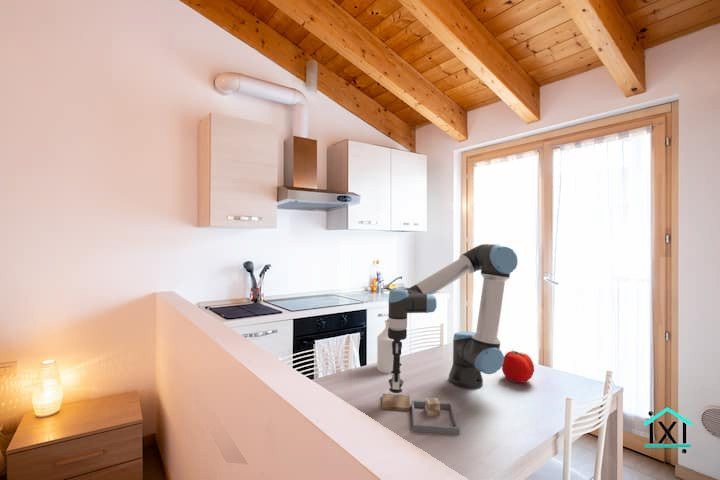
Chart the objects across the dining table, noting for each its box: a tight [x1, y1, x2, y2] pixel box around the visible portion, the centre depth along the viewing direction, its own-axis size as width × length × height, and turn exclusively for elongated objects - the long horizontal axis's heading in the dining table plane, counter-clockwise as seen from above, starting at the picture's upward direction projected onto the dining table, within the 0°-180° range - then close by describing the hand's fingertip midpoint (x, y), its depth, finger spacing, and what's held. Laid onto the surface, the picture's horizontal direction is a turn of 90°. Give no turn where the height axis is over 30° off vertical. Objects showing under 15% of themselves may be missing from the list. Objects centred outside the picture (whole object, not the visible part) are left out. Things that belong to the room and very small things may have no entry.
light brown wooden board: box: [381, 393, 411, 412], centre depth 142 cm, size 11×11×1 cm
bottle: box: [376, 318, 402, 374], centre depth 179 cm, size 12×12×25 cm
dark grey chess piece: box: [388, 371, 404, 394], centre depth 142 cm, size 6×6×12 cm
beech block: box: [424, 397, 441, 416], centre depth 136 cm, size 4×4×4 cm
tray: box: [411, 400, 461, 435], centre depth 131 cm, size 16×19×2 cm
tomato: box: [501, 349, 535, 384], centre depth 167 cm, size 16×14×14 cm
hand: (395, 385), depth 142 cm, fingers closed on dark grey chess piece, 6 cm apart
